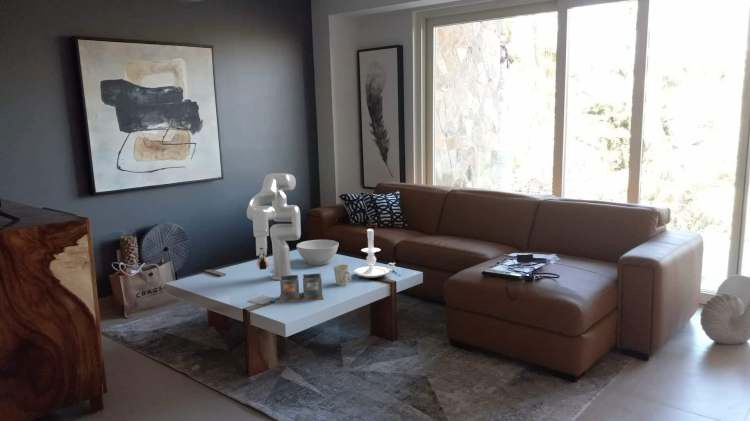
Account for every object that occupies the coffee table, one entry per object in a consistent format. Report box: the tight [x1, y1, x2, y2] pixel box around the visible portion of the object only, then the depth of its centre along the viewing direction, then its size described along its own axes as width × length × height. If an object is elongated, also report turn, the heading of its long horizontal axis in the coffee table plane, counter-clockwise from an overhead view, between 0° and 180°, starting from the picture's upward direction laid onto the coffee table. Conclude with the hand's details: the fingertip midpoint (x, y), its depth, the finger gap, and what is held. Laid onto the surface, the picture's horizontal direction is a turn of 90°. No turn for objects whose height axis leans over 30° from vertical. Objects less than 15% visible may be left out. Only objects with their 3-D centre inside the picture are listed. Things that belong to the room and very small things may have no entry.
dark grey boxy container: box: [279, 272, 324, 303], centre depth 305 cm, size 22×11×11 cm, turn 99°
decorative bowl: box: [296, 239, 339, 266], centre depth 376 cm, size 27×27×12 cm
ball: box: [256, 257, 270, 269], centre depth 300 cm, size 6×6×6 cm
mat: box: [247, 294, 279, 305], centre depth 303 cm, size 11×11×1 cm
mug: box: [333, 263, 352, 286], centre depth 327 cm, size 8×13×10 cm, turn 44°
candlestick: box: [353, 228, 396, 279], centre depth 340 cm, size 21×25×28 cm
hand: (263, 267), depth 301 cm, fingers closed on ball, 5 cm apart
